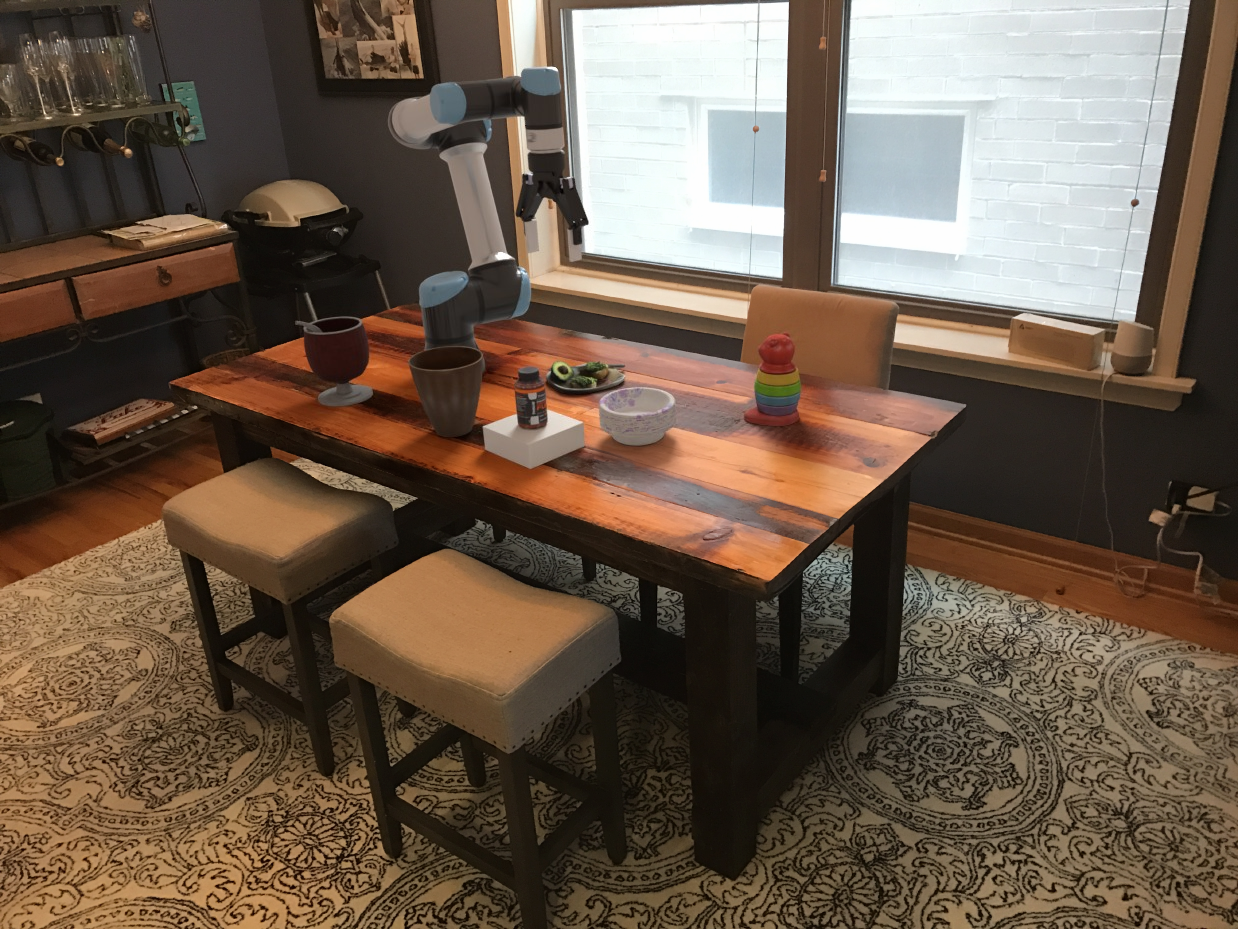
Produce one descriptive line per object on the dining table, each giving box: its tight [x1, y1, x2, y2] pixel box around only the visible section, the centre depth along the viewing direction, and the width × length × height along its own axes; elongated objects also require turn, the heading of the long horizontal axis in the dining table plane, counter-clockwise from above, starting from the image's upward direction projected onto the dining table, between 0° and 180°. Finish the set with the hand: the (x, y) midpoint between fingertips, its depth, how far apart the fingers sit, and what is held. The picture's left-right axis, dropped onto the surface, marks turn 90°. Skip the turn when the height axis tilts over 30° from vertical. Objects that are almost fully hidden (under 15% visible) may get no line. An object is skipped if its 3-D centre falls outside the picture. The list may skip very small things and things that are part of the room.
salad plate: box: [545, 360, 626, 396], centre depth 229 cm, size 19×18×5 cm
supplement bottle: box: [513, 366, 548, 429], centre depth 190 cm, size 6×6×11 cm
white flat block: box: [482, 409, 586, 470], centre depth 194 cm, size 14×14×5 cm
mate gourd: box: [294, 316, 374, 407], centre depth 222 cm, size 16×14×20 cm
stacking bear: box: [743, 331, 802, 427], centre depth 199 cm, size 11×10×18 cm
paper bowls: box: [598, 386, 677, 447], centre depth 196 cm, size 15×15×8 cm
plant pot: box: [407, 346, 484, 438], centre depth 202 cm, size 15×15×16 cm
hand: (553, 256), depth 206 cm, fingers open, 13 cm apart
